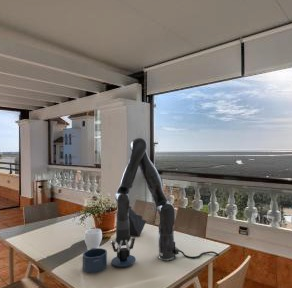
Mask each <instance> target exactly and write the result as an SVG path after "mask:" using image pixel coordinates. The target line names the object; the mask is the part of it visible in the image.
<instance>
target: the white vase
mask: <svg viewBox="0 0 292 288" xmlns="http://www.w3.org/2000/svg"><path fill="white" fill-rule="evenodd" d="M83 237H84V238H83V239H84V243H85V245H86V248H87V250H90V249H92V248H100V244H101V242H102V241H103V240H102V239H103V233H102V229H101V228H90V229H87V230H85V231H84V236H83Z"/></svg>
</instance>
